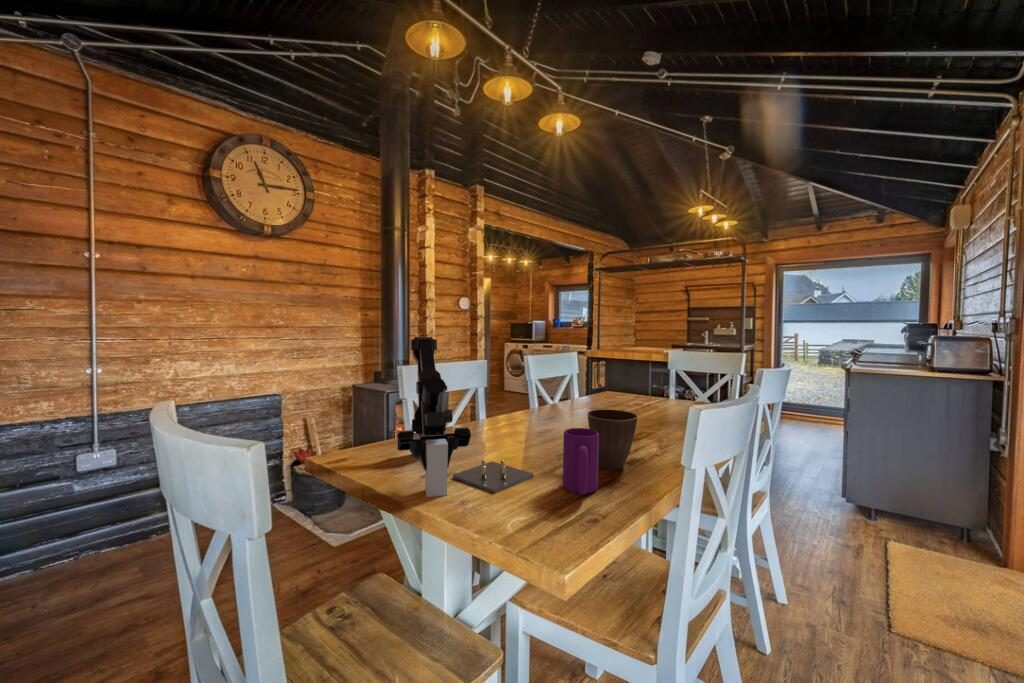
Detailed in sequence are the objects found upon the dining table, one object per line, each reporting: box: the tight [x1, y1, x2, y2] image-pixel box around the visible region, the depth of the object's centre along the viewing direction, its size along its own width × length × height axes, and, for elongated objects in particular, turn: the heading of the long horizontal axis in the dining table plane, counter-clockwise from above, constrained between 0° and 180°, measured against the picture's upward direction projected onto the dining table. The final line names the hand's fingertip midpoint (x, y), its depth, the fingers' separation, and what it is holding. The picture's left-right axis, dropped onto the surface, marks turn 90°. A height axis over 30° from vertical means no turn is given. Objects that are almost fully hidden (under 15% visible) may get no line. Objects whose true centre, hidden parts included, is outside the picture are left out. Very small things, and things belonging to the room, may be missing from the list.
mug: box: [562, 427, 599, 495], centre depth 112 cm, size 9×16×15 cm, turn 176°
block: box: [424, 439, 449, 498], centre depth 110 cm, size 5×5×13 cm
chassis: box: [452, 459, 534, 494], centre depth 122 cm, size 16×16×4 cm
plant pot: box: [587, 409, 639, 471], centre depth 133 cm, size 15×15×16 cm
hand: (436, 468), depth 109 cm, fingers closed on block, 5 cm apart
